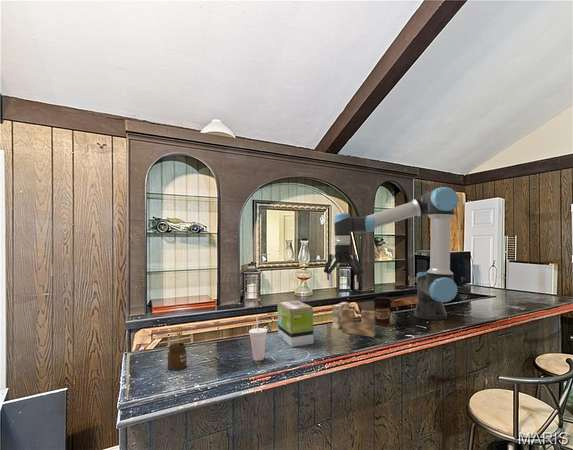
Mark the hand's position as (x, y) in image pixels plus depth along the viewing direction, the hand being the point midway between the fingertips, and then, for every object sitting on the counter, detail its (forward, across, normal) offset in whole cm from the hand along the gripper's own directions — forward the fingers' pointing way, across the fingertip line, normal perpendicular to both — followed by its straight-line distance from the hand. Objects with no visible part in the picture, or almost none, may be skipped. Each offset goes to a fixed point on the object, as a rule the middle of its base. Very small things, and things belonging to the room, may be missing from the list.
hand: (343, 287), depth 156 cm
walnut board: (+17, +12, -13) cm, 25 cm away
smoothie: (+18, -7, -58) cm, 61 cm away
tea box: (+18, -7, -34) cm, 39 cm away
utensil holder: (+18, -26, -77) cm, 83 cm away
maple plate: (+17, 0, -4) cm, 18 cm away
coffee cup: (+17, +17, +6) cm, 25 cm away
